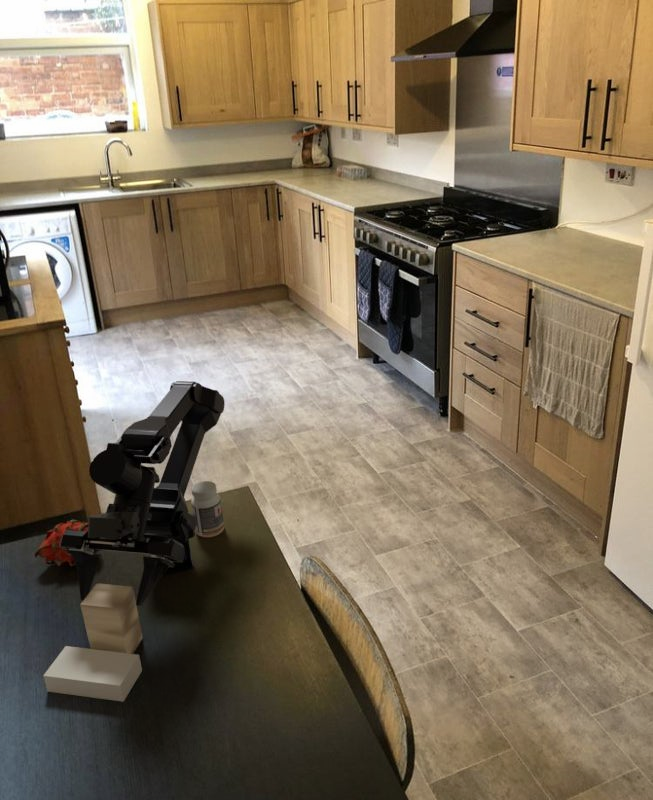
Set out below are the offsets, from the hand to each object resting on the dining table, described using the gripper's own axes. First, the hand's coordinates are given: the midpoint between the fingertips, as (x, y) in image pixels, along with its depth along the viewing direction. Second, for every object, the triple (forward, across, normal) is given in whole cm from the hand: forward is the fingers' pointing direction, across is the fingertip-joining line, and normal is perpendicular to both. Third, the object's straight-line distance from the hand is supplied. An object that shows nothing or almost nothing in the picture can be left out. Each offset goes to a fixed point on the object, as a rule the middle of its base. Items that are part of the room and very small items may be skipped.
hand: (110, 603), depth 106 cm
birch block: (+6, 0, +6) cm, 8 cm away
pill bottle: (-17, +3, +29) cm, 34 cm away
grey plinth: (+11, 0, 0) cm, 11 cm away
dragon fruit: (-8, -20, +20) cm, 29 cm away
